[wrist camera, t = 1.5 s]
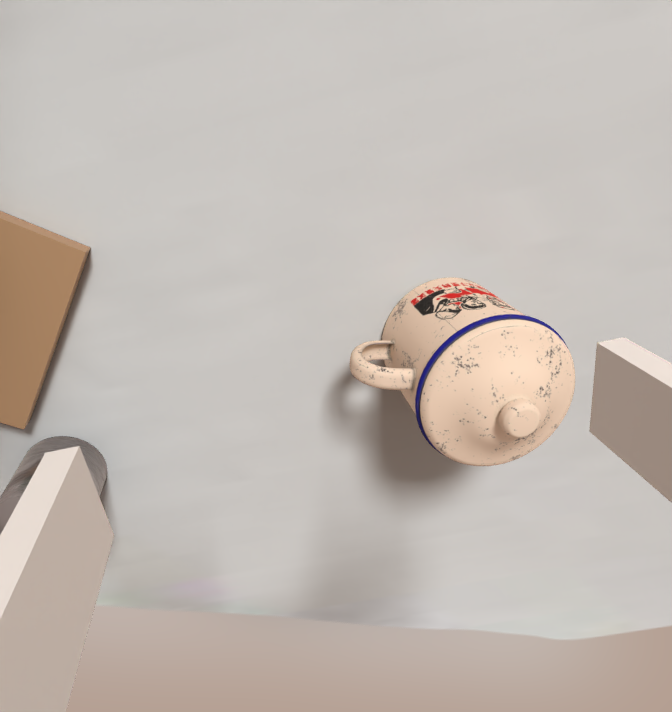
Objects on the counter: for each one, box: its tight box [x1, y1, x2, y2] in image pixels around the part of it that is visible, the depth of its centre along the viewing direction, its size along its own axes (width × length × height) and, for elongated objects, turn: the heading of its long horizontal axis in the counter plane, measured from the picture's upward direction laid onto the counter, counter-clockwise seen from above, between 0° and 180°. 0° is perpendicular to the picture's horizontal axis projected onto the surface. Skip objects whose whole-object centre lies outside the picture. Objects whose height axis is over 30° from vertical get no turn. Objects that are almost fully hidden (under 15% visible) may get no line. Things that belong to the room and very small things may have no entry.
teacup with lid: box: [350, 278, 575, 466], centre depth 32 cm, size 12×9×12 cm
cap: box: [0, 436, 107, 535], centre depth 33 cm, size 5×5×6 cm
